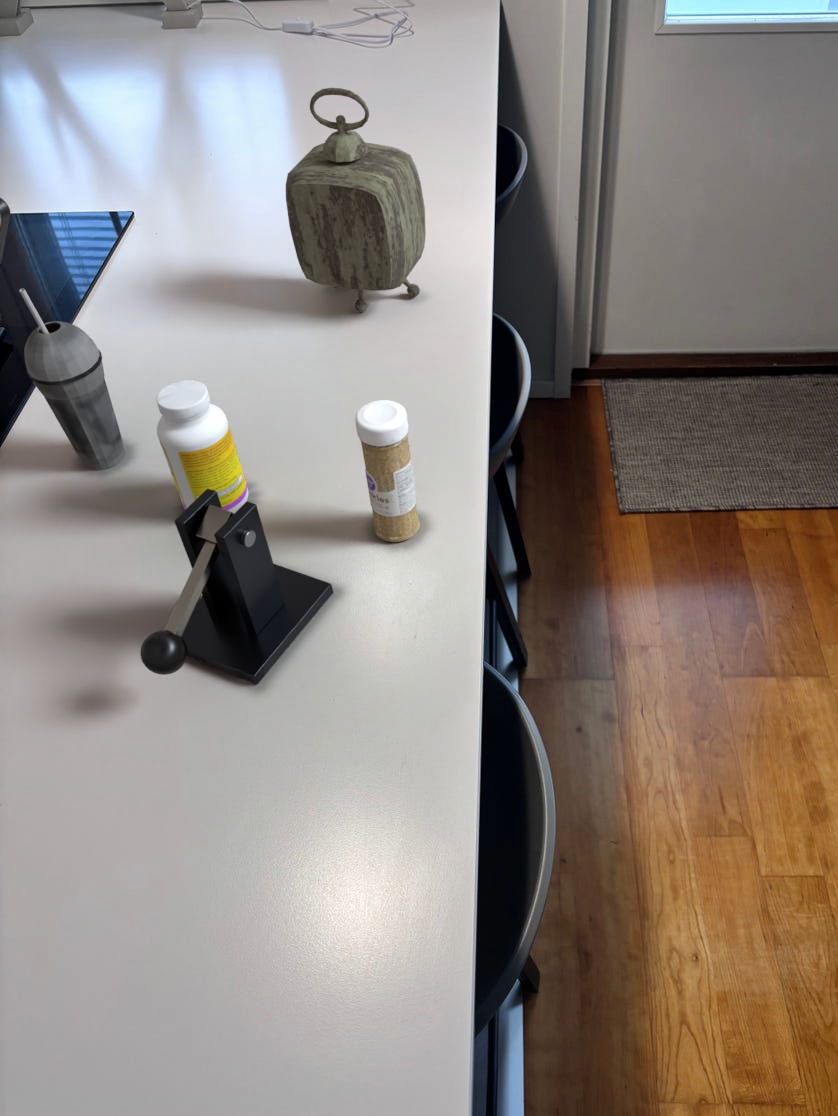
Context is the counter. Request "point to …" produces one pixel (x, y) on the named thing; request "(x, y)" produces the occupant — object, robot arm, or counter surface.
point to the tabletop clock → (356, 210)
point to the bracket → (245, 595)
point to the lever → (185, 602)
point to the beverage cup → (74, 389)
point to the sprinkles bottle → (388, 469)
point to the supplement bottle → (199, 445)
